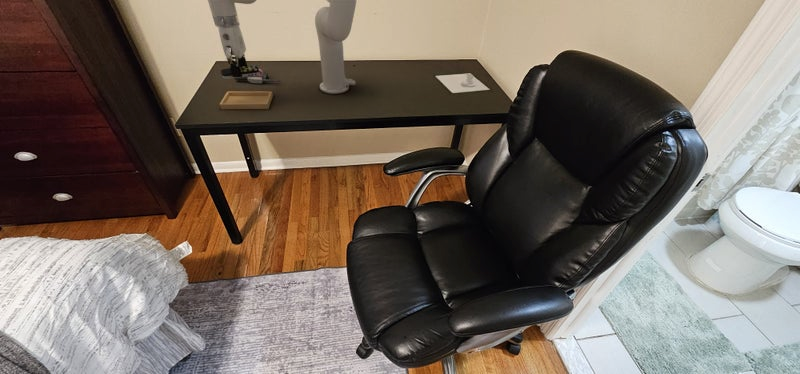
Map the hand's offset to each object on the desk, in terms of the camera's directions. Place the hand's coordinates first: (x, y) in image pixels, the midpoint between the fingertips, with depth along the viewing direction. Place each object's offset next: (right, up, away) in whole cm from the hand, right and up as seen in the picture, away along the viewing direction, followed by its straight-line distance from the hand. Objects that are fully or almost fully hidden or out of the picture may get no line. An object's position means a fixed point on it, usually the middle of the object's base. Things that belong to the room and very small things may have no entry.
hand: (240, 72), depth 116 cm
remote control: (0, -1, +1) cm, 1 cm away
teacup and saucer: (+89, +8, +37) cm, 97 cm away
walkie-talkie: (-4, +5, +24) cm, 25 cm away
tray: (-1, -9, +8) cm, 12 cm away
